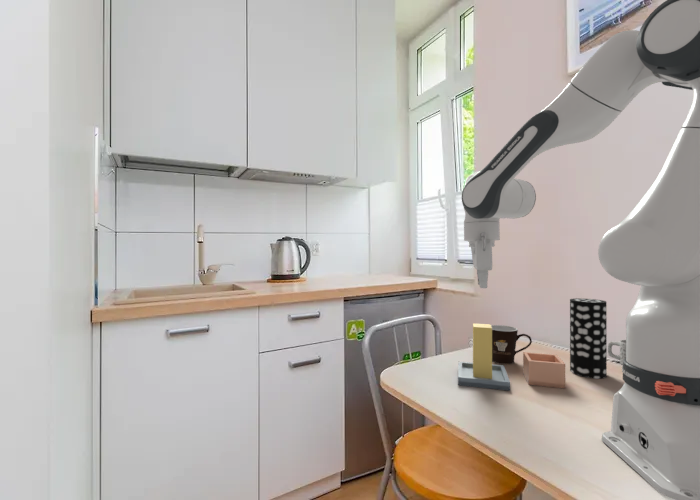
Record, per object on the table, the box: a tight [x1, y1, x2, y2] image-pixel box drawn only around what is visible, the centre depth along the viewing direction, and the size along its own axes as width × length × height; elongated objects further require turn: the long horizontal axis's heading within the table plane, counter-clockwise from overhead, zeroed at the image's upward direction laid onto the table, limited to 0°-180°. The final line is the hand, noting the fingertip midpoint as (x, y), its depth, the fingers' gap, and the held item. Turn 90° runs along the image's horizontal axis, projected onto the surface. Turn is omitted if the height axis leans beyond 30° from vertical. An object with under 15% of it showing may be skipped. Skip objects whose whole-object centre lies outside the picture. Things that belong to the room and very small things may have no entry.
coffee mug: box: [491, 324, 533, 365], centre depth 106 cm, size 12×9×10 cm
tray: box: [457, 361, 511, 392], centre depth 93 cm, size 13×12×2 cm
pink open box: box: [522, 351, 566, 389], centre depth 91 cm, size 8×8×6 cm
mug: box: [607, 339, 626, 366], centre depth 105 cm, size 10×7×7 cm, turn 32°
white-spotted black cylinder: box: [569, 297, 608, 379], centre depth 96 cm, size 8×8×20 cm
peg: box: [472, 322, 493, 379], centre depth 92 cm, size 4×4×13 cm
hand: (482, 286), depth 92 cm, fingers open, 8 cm apart
